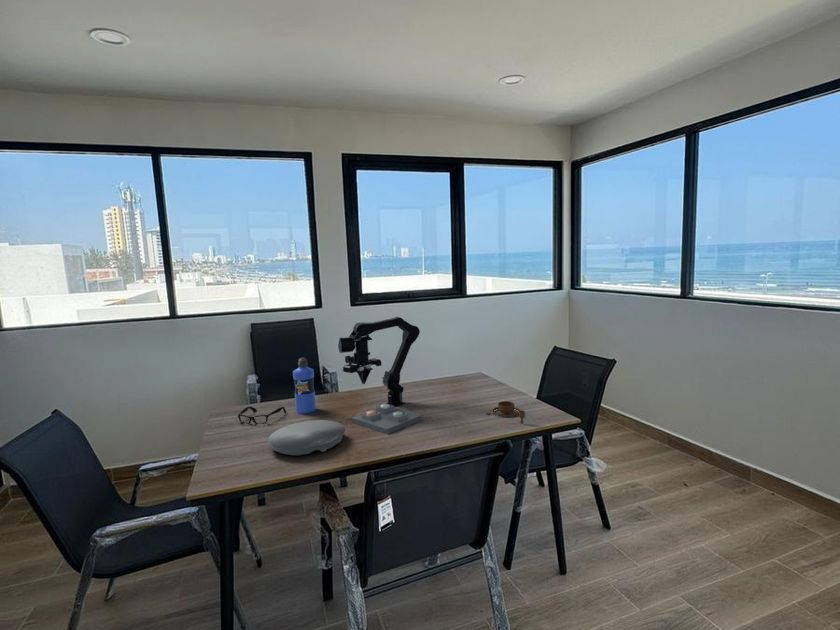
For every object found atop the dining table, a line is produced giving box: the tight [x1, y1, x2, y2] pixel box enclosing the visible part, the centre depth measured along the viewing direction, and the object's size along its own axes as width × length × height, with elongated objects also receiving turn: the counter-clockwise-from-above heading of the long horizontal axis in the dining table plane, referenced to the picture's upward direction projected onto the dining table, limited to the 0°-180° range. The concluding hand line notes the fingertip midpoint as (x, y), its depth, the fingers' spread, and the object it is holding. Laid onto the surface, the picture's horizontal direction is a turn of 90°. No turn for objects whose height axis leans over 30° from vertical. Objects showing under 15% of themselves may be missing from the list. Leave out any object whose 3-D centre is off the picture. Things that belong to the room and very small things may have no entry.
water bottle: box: [292, 357, 317, 415], centre depth 208 cm, size 9×9×25 cm
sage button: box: [393, 411, 403, 417], centre depth 187 cm, size 4×4×2 cm
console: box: [351, 402, 423, 435], centre depth 191 cm, size 20×22×4 cm
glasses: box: [237, 406, 287, 425], centre depth 202 cm, size 16×18×5 cm
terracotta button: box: [365, 410, 376, 416], centre depth 190 cm, size 4×4×2 cm
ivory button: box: [380, 403, 390, 409], centre depth 198 cm, size 4×4×2 cm
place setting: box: [486, 400, 526, 425], centre depth 191 cm, size 18×20×6 cm
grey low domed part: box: [268, 419, 346, 456], centre depth 169 cm, size 28×28×4 cm
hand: (363, 383), depth 207 cm, fingers closed
